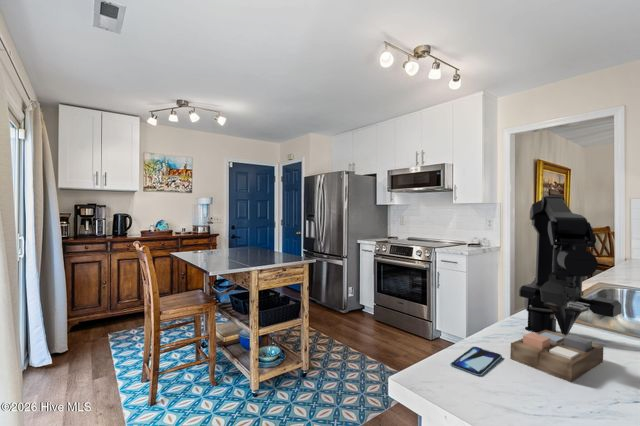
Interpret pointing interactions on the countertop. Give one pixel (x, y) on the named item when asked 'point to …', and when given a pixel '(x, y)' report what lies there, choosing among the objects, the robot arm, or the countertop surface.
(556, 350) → the key
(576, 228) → the robot arm
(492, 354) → the smartphone
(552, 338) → the key
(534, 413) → the countertop surface
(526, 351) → the wooden sorting tray
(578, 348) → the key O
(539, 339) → the peach block
